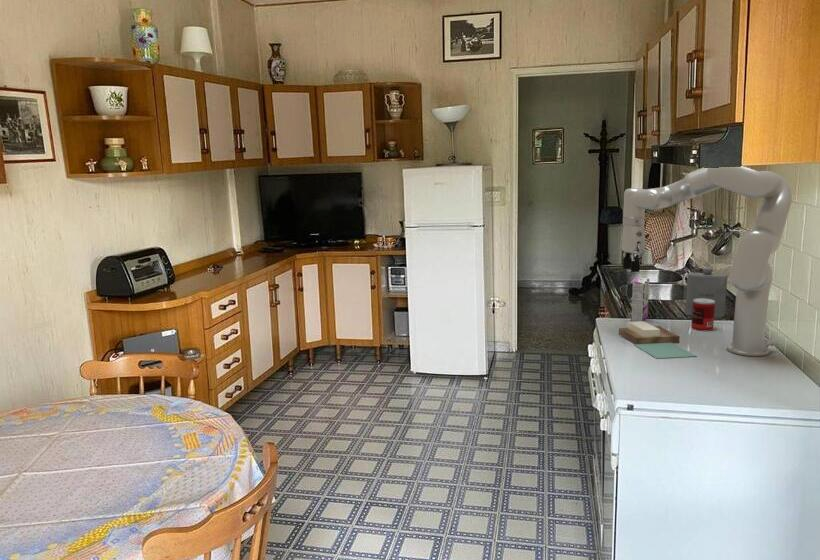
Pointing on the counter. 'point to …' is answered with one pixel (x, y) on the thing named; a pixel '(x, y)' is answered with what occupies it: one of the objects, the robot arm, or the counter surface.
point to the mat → (664, 350)
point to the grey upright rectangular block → (706, 290)
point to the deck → (638, 339)
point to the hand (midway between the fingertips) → (631, 269)
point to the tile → (644, 329)
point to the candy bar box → (640, 299)
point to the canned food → (703, 314)
